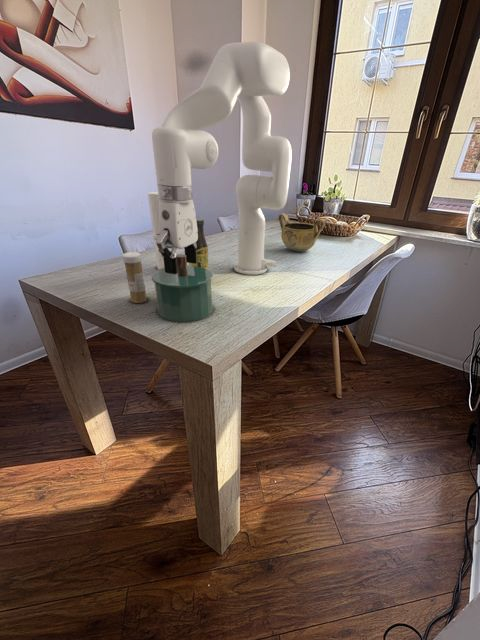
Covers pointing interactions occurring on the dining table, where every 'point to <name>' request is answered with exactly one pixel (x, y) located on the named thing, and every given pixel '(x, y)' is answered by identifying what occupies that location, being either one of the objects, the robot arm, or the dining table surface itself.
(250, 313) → the dining table surface
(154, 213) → the cylindrical container
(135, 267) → the sprinkles bottle
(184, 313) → the canister
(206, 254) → the sauce bottle
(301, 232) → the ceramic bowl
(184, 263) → the lid
